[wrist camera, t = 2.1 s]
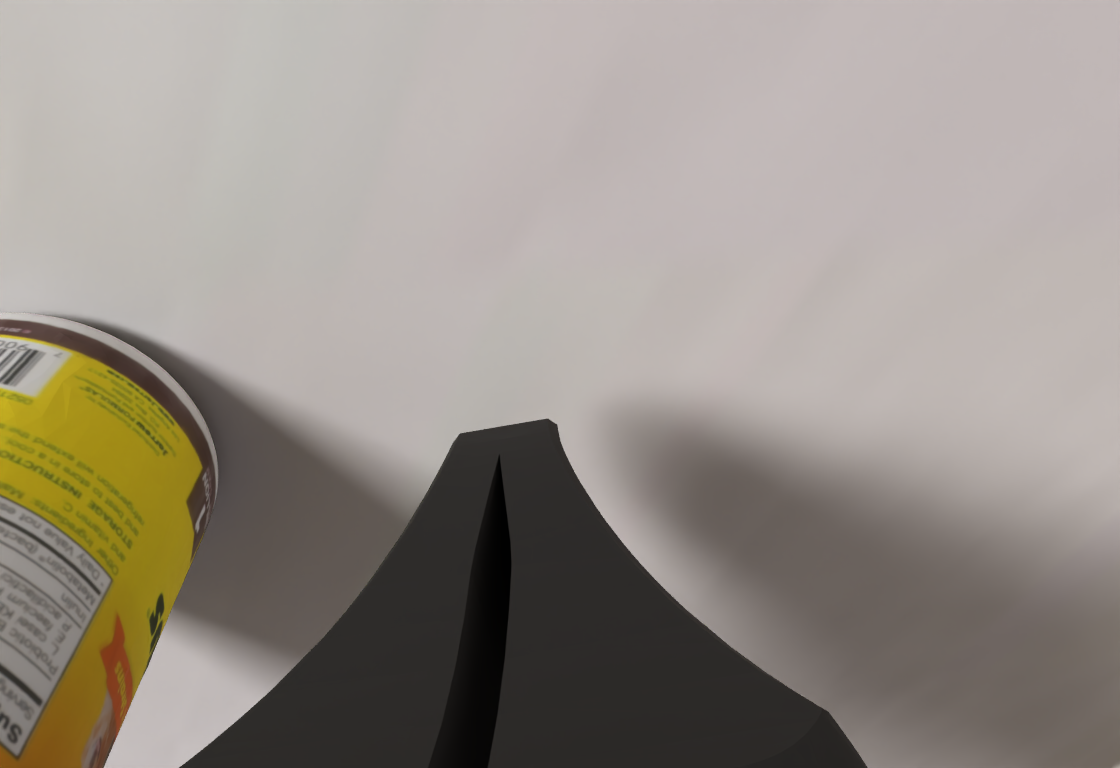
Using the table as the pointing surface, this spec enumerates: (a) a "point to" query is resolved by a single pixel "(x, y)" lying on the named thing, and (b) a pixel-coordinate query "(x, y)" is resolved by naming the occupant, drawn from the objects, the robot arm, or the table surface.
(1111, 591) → the table surface
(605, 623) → the robot arm
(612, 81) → the table surface
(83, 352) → the supplement bottle
